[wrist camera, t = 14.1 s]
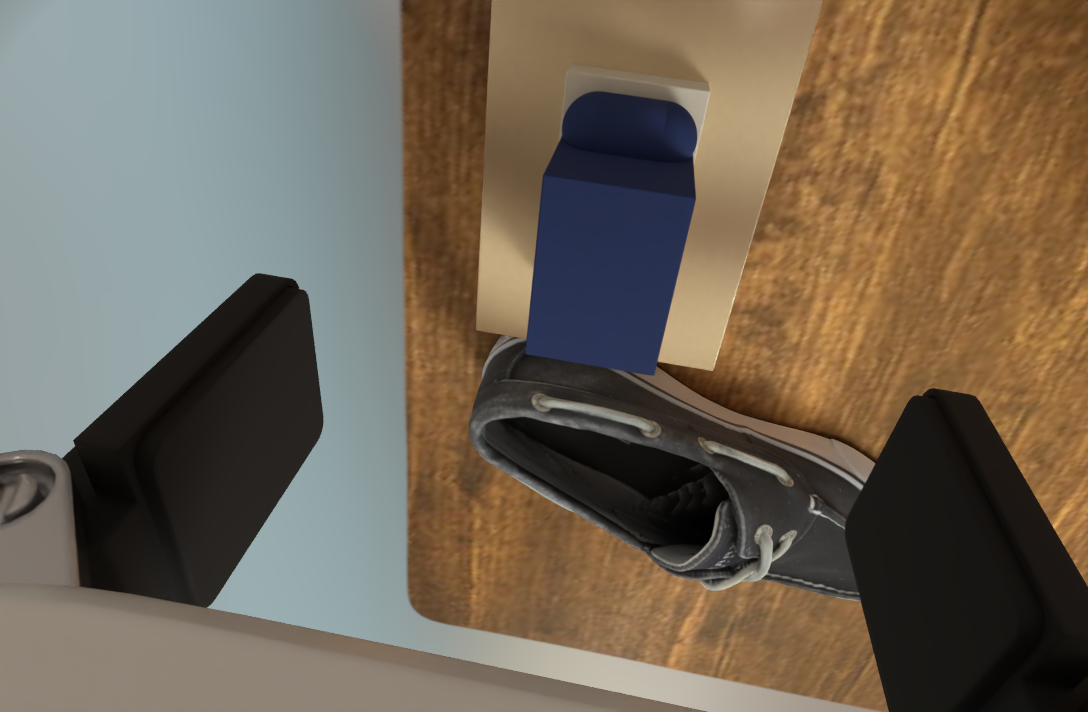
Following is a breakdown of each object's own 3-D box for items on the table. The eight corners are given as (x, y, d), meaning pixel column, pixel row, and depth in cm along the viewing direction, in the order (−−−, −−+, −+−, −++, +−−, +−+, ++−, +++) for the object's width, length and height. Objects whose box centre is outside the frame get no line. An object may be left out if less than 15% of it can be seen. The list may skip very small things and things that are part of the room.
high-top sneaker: (660, 298, 26) (657, 382, 22) (546, 280, 27) (519, 358, 22) (709, 82, 22) (718, 131, 17) (571, 63, 22) (543, 105, 17)
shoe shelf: (518, -63, 24) (493, -57, 21) (806, -26, 23) (828, -15, 20) (495, 286, 32) (475, 330, 28) (709, 322, 31) (713, 371, 28)
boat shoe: (954, 506, 35) (1022, 653, 28) (828, 589, 39) (860, 731, 33) (552, 253, 30) (517, 354, 24) (465, 379, 35) (415, 493, 28)
